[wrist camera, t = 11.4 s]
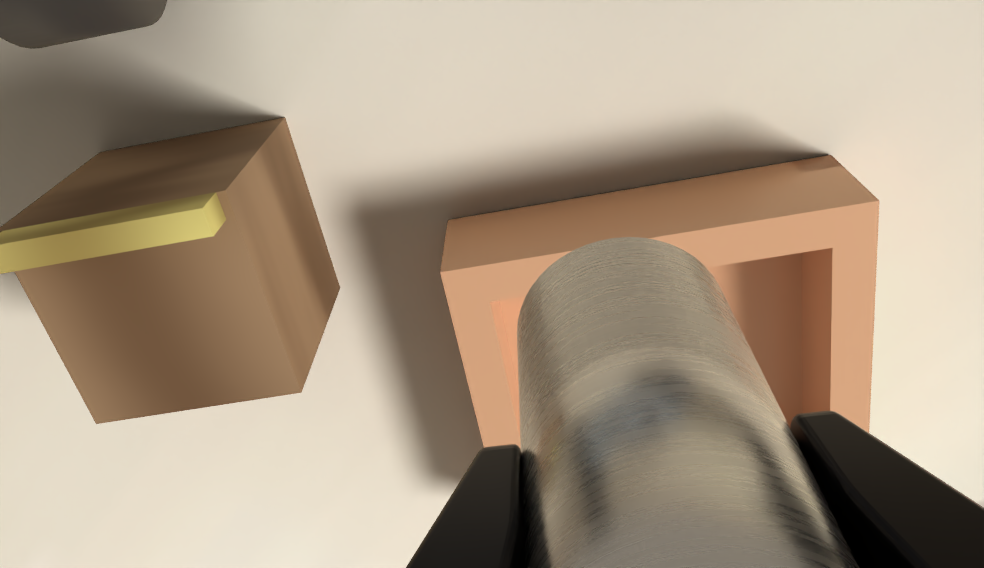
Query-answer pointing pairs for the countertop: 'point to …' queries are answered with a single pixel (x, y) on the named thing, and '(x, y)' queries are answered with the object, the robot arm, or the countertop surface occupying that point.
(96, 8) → the dolly
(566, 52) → the countertop surface
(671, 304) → the pin
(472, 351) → the open tan box
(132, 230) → the taped cardboard box
